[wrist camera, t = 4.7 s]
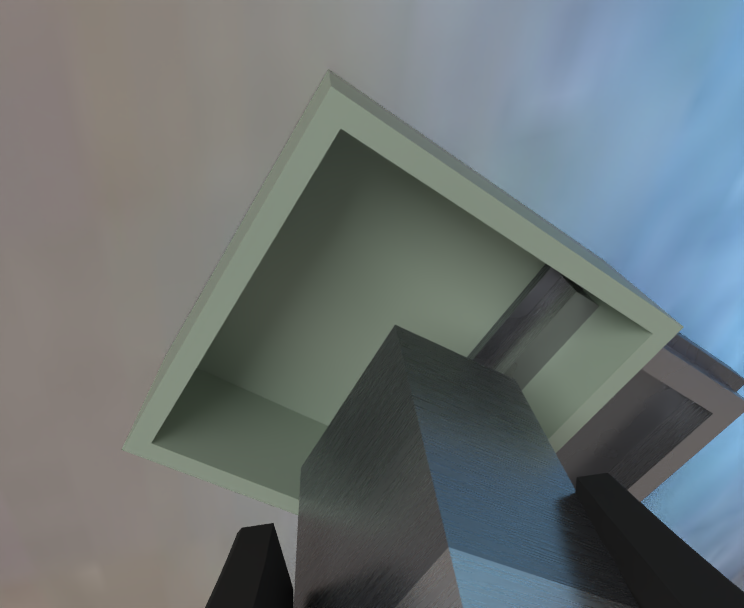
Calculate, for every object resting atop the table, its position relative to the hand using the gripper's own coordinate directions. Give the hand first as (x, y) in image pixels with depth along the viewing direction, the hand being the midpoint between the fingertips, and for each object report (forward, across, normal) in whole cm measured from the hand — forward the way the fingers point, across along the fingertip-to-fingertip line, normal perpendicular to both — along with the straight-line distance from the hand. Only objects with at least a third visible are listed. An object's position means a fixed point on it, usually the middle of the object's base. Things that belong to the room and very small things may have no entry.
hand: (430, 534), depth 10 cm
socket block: (+9, -6, +6) cm, 13 cm away
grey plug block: (+4, 0, 0) cm, 4 cm away
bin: (+9, 0, 0) cm, 9 cm away
